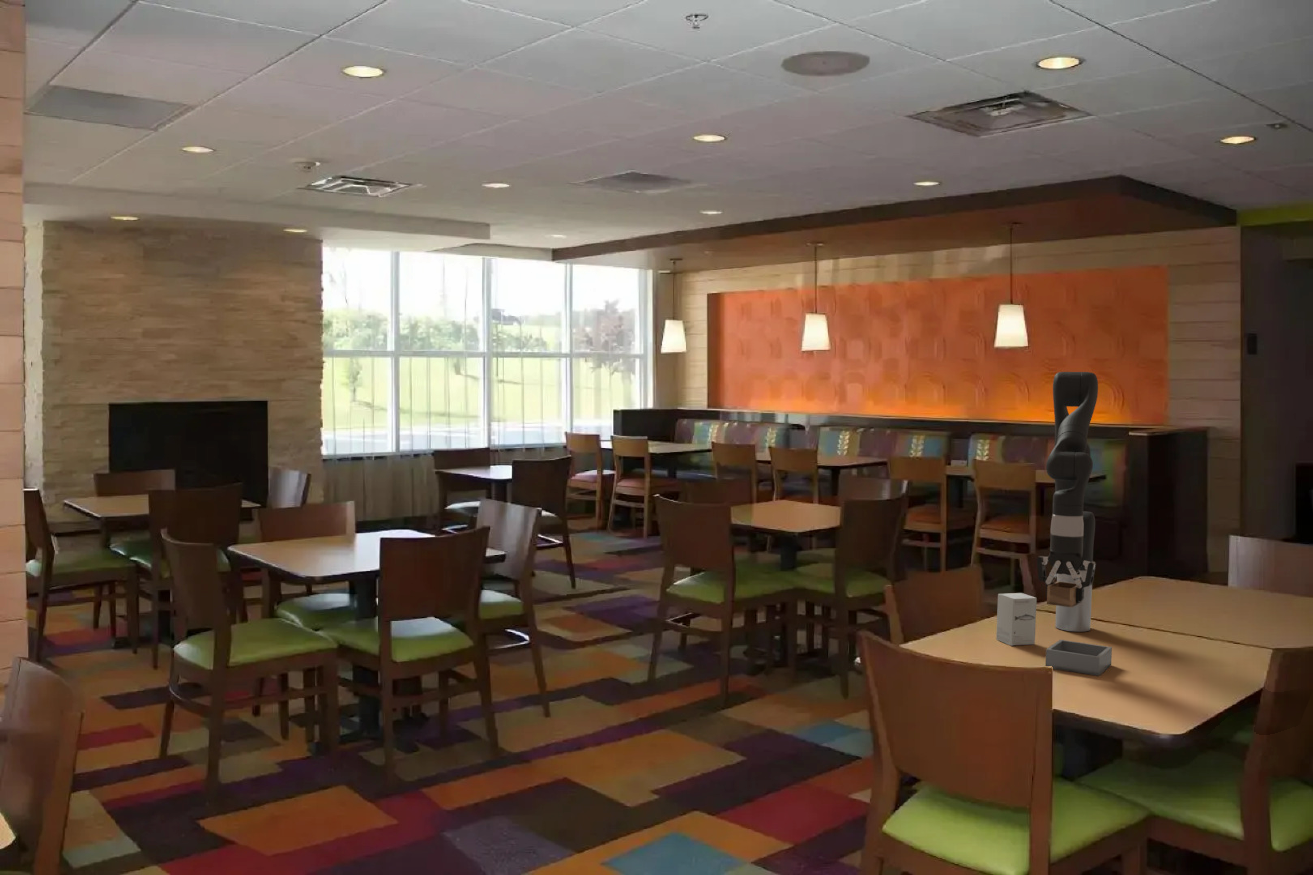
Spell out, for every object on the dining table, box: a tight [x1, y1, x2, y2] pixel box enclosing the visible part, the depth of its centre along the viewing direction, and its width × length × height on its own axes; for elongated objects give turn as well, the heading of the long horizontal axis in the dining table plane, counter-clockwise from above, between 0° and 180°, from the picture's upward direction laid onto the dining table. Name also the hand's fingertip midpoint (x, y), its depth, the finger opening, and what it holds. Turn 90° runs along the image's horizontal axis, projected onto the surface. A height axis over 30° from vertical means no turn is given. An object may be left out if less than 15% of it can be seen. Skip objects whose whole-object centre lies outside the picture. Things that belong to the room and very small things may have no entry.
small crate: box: [1046, 580, 1082, 607], centre depth 273 cm, size 8×6×4 cm
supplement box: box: [995, 592, 1037, 647], centre depth 296 cm, size 7×7×13 cm
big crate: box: [1044, 639, 1113, 677], centre depth 272 cm, size 12×12×4 cm
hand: (1064, 600), depth 273 cm, fingers closed on small crate, 6 cm apart
